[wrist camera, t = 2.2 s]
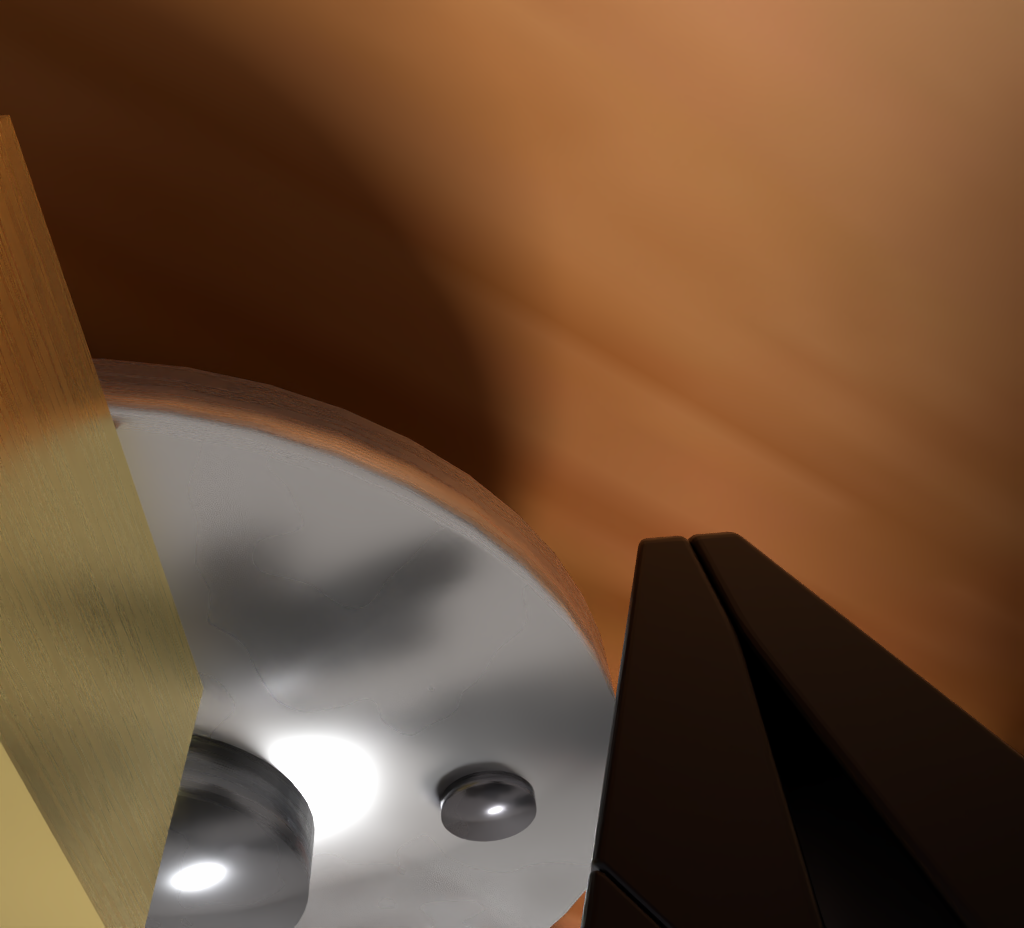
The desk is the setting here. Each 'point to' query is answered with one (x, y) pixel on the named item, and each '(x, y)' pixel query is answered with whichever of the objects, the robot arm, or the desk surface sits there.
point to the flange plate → (267, 653)
